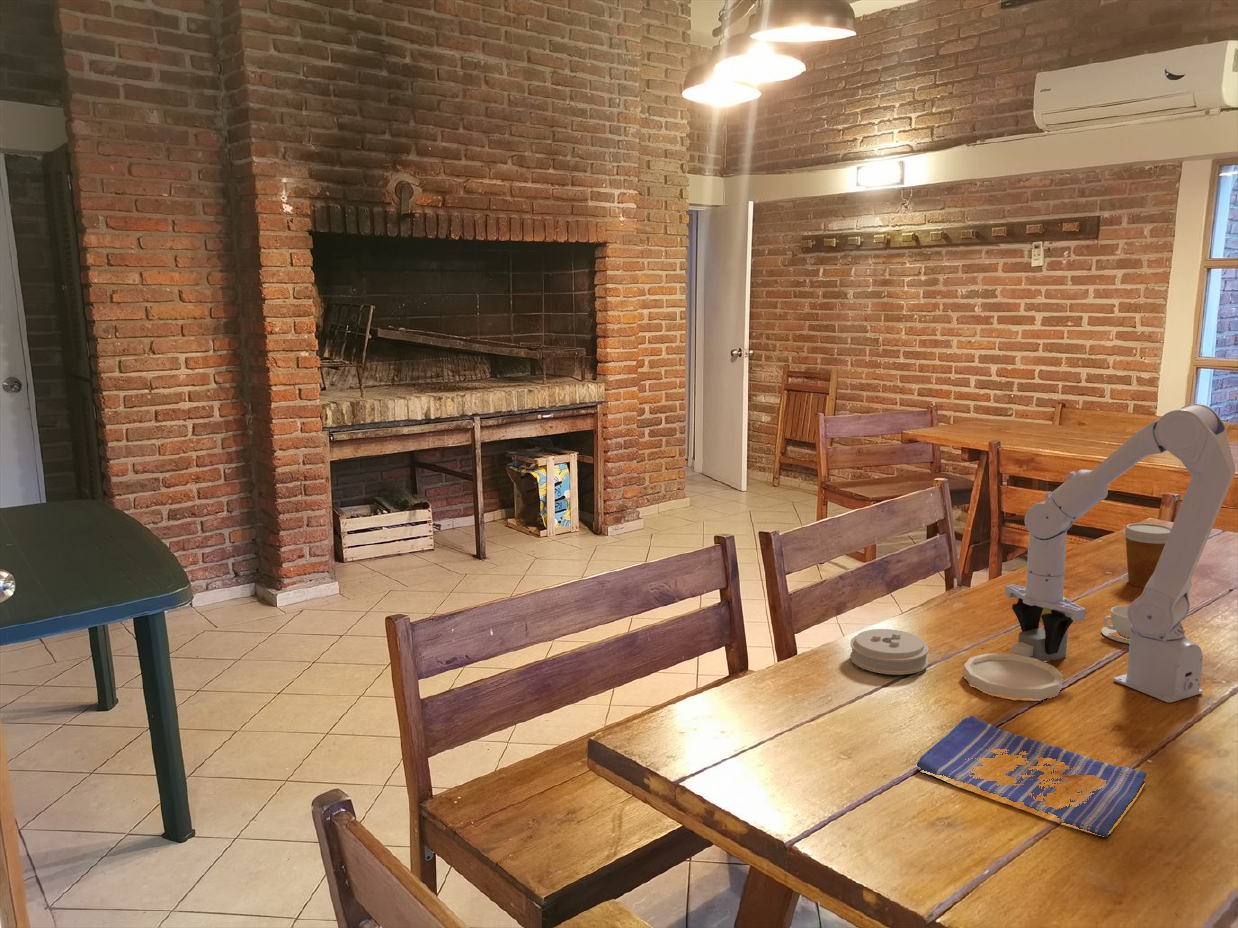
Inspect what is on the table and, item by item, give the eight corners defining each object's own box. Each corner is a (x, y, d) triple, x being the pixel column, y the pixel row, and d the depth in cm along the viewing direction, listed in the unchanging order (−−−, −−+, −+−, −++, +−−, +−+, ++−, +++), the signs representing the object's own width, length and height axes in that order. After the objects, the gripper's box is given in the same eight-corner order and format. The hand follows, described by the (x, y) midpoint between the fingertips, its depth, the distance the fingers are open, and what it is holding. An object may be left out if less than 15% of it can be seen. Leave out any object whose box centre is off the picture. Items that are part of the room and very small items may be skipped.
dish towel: (966, 729, 132) (967, 710, 132) (1149, 786, 116) (1151, 765, 115) (910, 775, 120) (911, 755, 120) (1106, 846, 104) (1108, 824, 103)
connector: (1071, 656, 156) (1072, 631, 155) (1026, 667, 152) (1027, 642, 151) (1052, 648, 159) (1054, 624, 158) (1008, 659, 155) (1009, 635, 154)
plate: (1080, 689, 143) (1081, 677, 142) (1014, 708, 137) (1015, 695, 137) (1009, 659, 155) (1009, 647, 155) (946, 674, 150) (946, 663, 149)
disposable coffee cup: (1125, 589, 189) (1129, 532, 187) (1115, 575, 198) (1119, 521, 196) (1177, 592, 186) (1182, 535, 184) (1164, 578, 195) (1169, 523, 193)
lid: (899, 687, 146) (900, 657, 145) (834, 664, 156) (835, 636, 155) (943, 665, 154) (944, 637, 153) (878, 644, 164) (879, 618, 163)
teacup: (1148, 627, 168) (1150, 603, 167) (1175, 648, 158) (1177, 622, 158) (1091, 627, 169) (1093, 602, 168) (1114, 647, 160) (1116, 621, 159)
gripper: (993, 563, 158) (990, 638, 160) (1065, 587, 145) (1060, 668, 147) (1023, 558, 160) (1019, 631, 163) (1096, 580, 147) (1091, 660, 150)
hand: (1040, 648), depth 155 cm, fingers closed on connector, 4 cm apart
